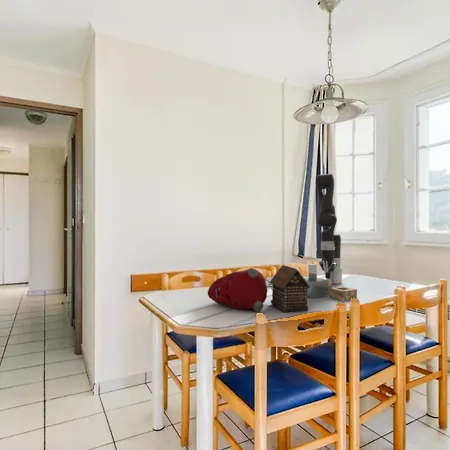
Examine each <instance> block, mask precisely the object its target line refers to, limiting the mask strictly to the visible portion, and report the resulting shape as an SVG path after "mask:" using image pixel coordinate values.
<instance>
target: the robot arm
mask: <svg viewBox="0 0 450 450" xmlns="http://www.w3.org/2000/svg"><path fill="white" fill-rule="evenodd" d="M315 185H316V190H317V195H318V202H319V215H318V218H317V224H318V226H320V227H322V231H321V234H320V257H321V261H318V264H319V266H320V268H321V270H322V271H323V272H325V273H324V277H325V280H328V281H330V282H332V284H331V285H333V284H334V285H337V284H342V283H343V274H342V273H343V269H342V268H341V265H342V264H341V252H342V251H341V249H342V248H341V245H342V238H341V235H340V234H339V233H335V229H336V225H337V223H338V219H337V215H336V209H335V208H336V207H335V205H334V204H333V201H334V194H335V191H334V190H335V178H334V174H332V173H326V174H319V175H316V176H315ZM324 190H326V192H325V193H324Z"/></svg>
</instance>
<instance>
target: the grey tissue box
mask: <svg viewBox="0 0 450 450" xmlns="http://www.w3.org/2000/svg"><path fill="white" fill-rule="evenodd" d="M303 278H304V279H305V280H306V282H307V283H308V284H309V286H310V288H307V299H308V298H309V299H317V298H326V297H329V296H330V291H329V288H334V287H338V286H337V285H335V284H334V285H333V284H331V286H328V280H326V278H325V279H324V278H319V277H317V280H309V277H303Z"/></svg>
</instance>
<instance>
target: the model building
mask: <svg viewBox="0 0 450 450" xmlns="http://www.w3.org/2000/svg"><path fill="white" fill-rule="evenodd" d="M272 277H273V278H272ZM272 277H271V281H270V283H271V284H270V285H272V284H273V286H272V290H271V292H272V293H271V294H272V295H271V300H270V303H271V306H274V307H275V308H277V309H278V310H279V311H281V312H282V313H283V312H284V313H290V312H306V311H308V310H309V306H308V297H307V288H310V286H309V284H308V283H307V282H306V280H305V279H304V278H305V277H303V274H301V273H300V270H299V269H297V268H294V267H291V266H288V265H285V264H282V265H281V266H280V267H279V268H278V270H277V271H276V273H275V274H274V275H273V276H272Z"/></svg>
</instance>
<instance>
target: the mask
mask: <svg viewBox="0 0 450 450" xmlns="http://www.w3.org/2000/svg"><path fill="white" fill-rule="evenodd" d="M266 282H267V281H266V278H265V277H264V275H263V274H262V273H261V272H260V271H259V270H257V269H256V268H253V267H251V268H248V269H244V270H240V271H233V272H231V273H230V272H229V273H227V274H225V276H221V277H218V279H216V280H214V281H213V283H212V284H211V285H210V286H209V288H208V289H207V296H208V298H209V299H210V300H212V301H214V303H215V304H216V303H217V304H219V305H223V306H229V307H230V308H231V309H232V308H233V309H236V310H240V311H241V310H250V309H251V310H252V309H253V311H255V312H256V313H259V312H260V311H261V310H262V309H263V308H264V303H265V302H266V300H267V298H268V285H267V283H266Z"/></svg>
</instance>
